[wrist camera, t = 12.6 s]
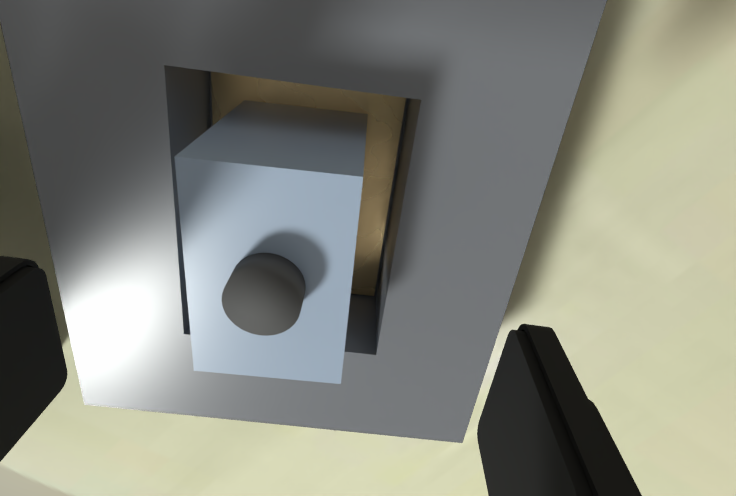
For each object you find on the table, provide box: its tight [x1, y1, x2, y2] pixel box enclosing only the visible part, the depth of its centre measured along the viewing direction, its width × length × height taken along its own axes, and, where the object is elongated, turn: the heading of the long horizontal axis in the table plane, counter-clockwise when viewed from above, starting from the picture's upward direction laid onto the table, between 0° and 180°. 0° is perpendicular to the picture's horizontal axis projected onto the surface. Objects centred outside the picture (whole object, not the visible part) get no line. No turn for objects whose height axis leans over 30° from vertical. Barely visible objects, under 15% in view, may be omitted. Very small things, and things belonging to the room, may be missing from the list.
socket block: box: [0, 0, 607, 443], centre depth 16 cm, size 14×16×4 cm
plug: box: [174, 100, 368, 384], centre depth 14 cm, size 4×6×7 cm, turn 174°
